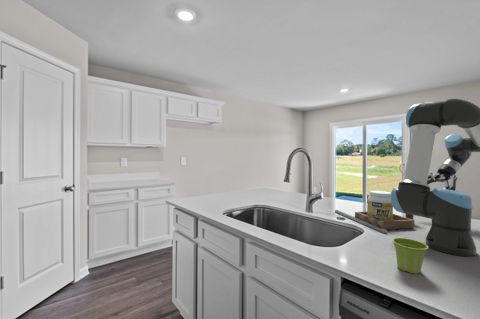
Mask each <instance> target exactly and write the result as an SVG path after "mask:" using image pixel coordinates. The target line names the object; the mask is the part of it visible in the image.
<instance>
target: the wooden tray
mask: <svg viewBox="0 0 480 319" xmlns="http://www.w3.org/2000/svg"><path fill="white" fill-rule="evenodd" d="M414 216H415V215H410V214H405V216H402V215H399V214H396V213H393V219H392V221H380V220H378V219H375V218H372V217H370V216H367V211H354V217H356V218H358V219H360V220H363V221H365V222H368V223H370V224H373V225H375V226H378V227H380V228H383V229H385V230H387V231H388V230H402V229H403V230H404V229H415V223H416V222H415V221H416V220H415V219H414V218H415V217H414Z"/></svg>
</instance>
